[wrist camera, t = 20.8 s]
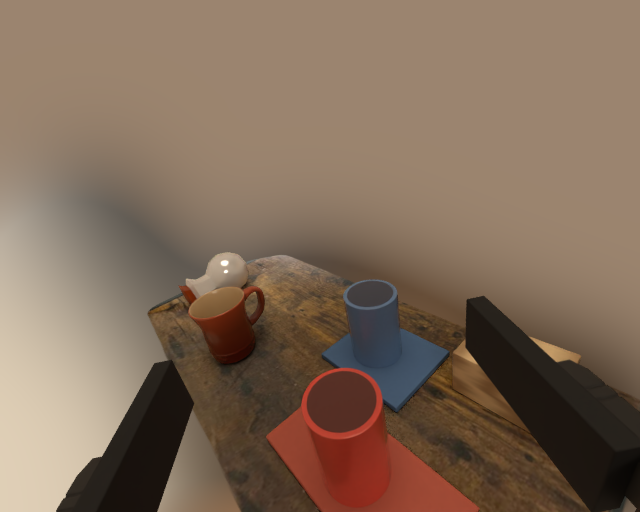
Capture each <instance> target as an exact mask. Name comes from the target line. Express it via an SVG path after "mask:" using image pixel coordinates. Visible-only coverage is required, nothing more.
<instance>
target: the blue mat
mask: <svg viewBox="0 0 640 512" xmlns="http://www.w3.org/2000/svg"><path fill="white" fill-rule="evenodd" d="M400 331H401V342H402V354H401V356H400V358H399V359H398V360H397V361H396V362H395V363H394V364H392V365H390V366H387V367H383V368H371V367H367V366H364V365H362V364H361V363H359V362H358V361H357V360H356V358H355V357H354V354H353V349H352V343H351V338H350V333H348V334H347V335H346V336H344V337H343V338H342V339H340V340H339V341H338V342H336V343H335V344H334V345H332V346H331V347H330V348H328V349H327V350H326V351H325V352H323V353H322V358H323V359H325V360H326V361H328V362H329V363H330V364H332V365H333V366H334V367H336V368H352V369H357V370H360V371H362V372H365V373H366V374H368V375H369V376H370V377H372V378H373V379H374V380H375V381H376V383H377V384H378V386H379V388H380V390H381V393H382V398H383V403H384V404H386V405H387V406H388V407H390V408H391V409H392V410H394V411H395V412H398V411H399V410H400V409H401V408H402V407H403V405H404V404H405V403H406V402H407V401H408V400H409V399H410V398H411V397H412V396H413V395H414V393H415V392H416V391H417V390H418V389H419V388H420V387H421V386H422V385H423V384H424V383H425V381H426V380H427V379H428V378H429V377H430V376H431V375H432V374H433V373H434V372H435V371H436V370H437V368H438V367H439V366H440V365H441V364H442V363H443V362H444V361H445V360H446V359H447V358H448V356H449V351H448V350H445V349H443V348H441V347H439V346H437V345H435V344H433V343H431V342H429V341H427V340H425V339H423V338H420V337H418V336H416V335H414V334H412V333H410V332H408V331H406V330H404V329H402V328H400Z"/></svg>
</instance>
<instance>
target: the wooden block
mask: <svg viewBox="0 0 640 512" xmlns="http://www.w3.org/2000/svg"><path fill="white" fill-rule="evenodd" d="M528 337H529V336H528ZM529 338H531V337H529ZM531 339H532V340H533V341H534V342H535V343H536V344H537V345H538V346H539V347H540V348H542V349H543V350H544V351H545V352H546V353H547V354H548V355H549V356H550V357H551V358H553V359H554V360H555V361H556V362H559V361H564V360H569V359H570V360H572V361H574V362H575V363H577V364H579V363H580V359H581V356H580V355H578V354H576V353H573V352H570V351H567V350H564V349H562V348H559V347H556V346H554V345H551V344H548V343H545V342H543V341H540V340H537V339H535V338H531ZM452 388H453V389H454V390H456V391H457V392H459V393H461V394H463V395H464V396H466V397H468V398H470V399H471V400H473V401H475V402H477V403H478V404H480V405H482V406H484V407H485V408H487V409H489V410H491V411H492V412H494V413H496V414H498V415H499V416H501V417H503V418H505V419H506V420H508V421H510V422H512V423H513V424H515V425H517V426H519V427H520V428H522V429H524V430H526V431H527V432H529V433H530V431H529V430H528V429H527V427H526V426H525V425H524V424H523V422H522V421H521V420H520V418H519V417H518V416H517V414H516V413H515V412H514V410H513V409H512V408H511V407H510V405H509V404H508V403H507V401H506V400H505V399H504V397H503V396H502V395H501V394H500V392H499V391H498V390H497V388H496V387H495V386H494V384H493V383H492V382H491V380H490V379H489V378H488V377H487V375H486V374H485V373H484V371H483V370H482V369H481V367H480V366H479V365H478V363H477V362H476V361H475V360H474V358H473V357H472V356H471V354H470V353H469V352H468V350H467V349H466V348H465V340H464V341H463V342H462V343H461V344H460V345H459V346H458V348H457V349H456V350H455V351H454V352H453V386H452Z"/></svg>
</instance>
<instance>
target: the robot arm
mask: <svg viewBox="0 0 640 512" xmlns="http://www.w3.org/2000/svg"><path fill="white" fill-rule="evenodd" d="M465 348H466V349H467V350H468V352H469V353H470V354H471V356H472V357H473V358H474V360H475V361H476V362H477V363H478V365H479V366H480V367H481V369H482V370H483V371H484V373H485V374H486V375H487V377H488V378H489V379H490V380H491V382H492V383H493V384H494V386H495V387H496V388H497V390H498V391H499V392H500V394H501V395H502V396H503V397H504V399H505V400H506V401H507V403H508V404H509V405H510V407H511V408H512V409H513V410H514V412H515V413H516V414H517V416H518V417H519V418H520V420H521V421H522V422H523V424H524V425H525V426H526V427H527V429H528V430H529V431H530V433H531V434H532V435H533V437H534V438H535V439H536V441H537V442H538V443H539V444H540V446H541V447H542V448H543V450H544V451H545V452H546V454H547V455H548V456H549V457H550V459H551V460H552V461H553V463H554V464H555V465H556V467H557V468H558V469H559V471H560V472H561V473H562V474H563V476H564V477H565V478H566V480H567V481H568V482H569V484H570V485H571V486H572V488H573V489H574V490H575V491H576V493H577V494H578V495H579V497H580V498H581V499H582V501H583V502H584V503H585V504H586V506H587V507H588V508H589V510H590V511H591V512H602V511H606V510H611V509H616V508H620V506H621V503H622V501H623V499H624V497H625V496H626V497H627V498H628V499H629V500H630V501H631V503H632V504H633V505H634V506H635V507H636V508H637V509H636V511H635V512H640V412H639V411H638V410H637V409H635V408H634V407H633V406H632V405H631V404H629V403H628V402H627V401H626V400H625V399H623V398H622V397H619V396H618V393H616V392H615V391H614V390H613V389H612V388H610V387H609V386H608V385H607V386H606V385H605V383H604V382H603V381H602V380H601V379H600V378H598V377H597V376H596V375H595V374H593V373H592V372H591V371H590V370H589V369H587V368H585V367H583V366H581V365H579V364H577V363H575V362H574V361H572V360H570V359H569V360H564V361H559V362H556V361H555V360H554V359H553V358H551V357H550V356H549V355H548V354H547V353H546V352H545V351H544V350H543V349H542V348H540V347H539V346H538V345H537V344H536V343H535V342H534V341H533V340H532V339H531V338H529V337H528V336H527V335H526V334H525V333H524V332H523V331H522V330H521V329H520V328H519V327H517V326H516V325H515V324H514V323H513V322H512V321H511V320H510V319H509V318H508V317H506V316H505V315H504V314H503V313H502V312H501V311H500V310H499V309H497V307H495V306H494V305H493V304H492V303H491V302H490V301H489V300H488V299H487V298H485V296H481V297H476V298H471V299H467V307H466V339H465ZM193 405H194V402H193V400H192V398H191V396H190V394H189V392H188V390H187V388H186V386H185V385H184V383H183V381H182V379H181V377H180V375H179V373H178V371H177V369H176V367H175V365H174V363H173V361H172V360H169V361H164V362H159V363H155V364H154V365H153V367H152V369H151V370H150V372H149V374H148V376H147V377H146V379H145V381H144V383H143V385H142V386H141V388H140V390H139V392H138V393H137V395H136V397H135V399H134V401H133V403H132V404H131V406H130V408H129V410H128V412H127V413H126V415H125V417H124V419H123V420H122V422H121V424H120V426H119V428H118V429H117V431H116V433H115V435H114V436H113V438H112V440H111V442H110V443H109V445H108V447H107V449H106V451H105V453H104V454H103V456H102V457H98V458H93V459H92V460H91V461H90V462H89V463H88V464H87V466H86V467H85V468H84V469H83V470H82V471H81V472H80V473H79V474H78V475H77V477H76V479H75V480H74V482H73V484H72V485H71V487H70V489H69V490H68V492H67V494H66V498H64V499H63V500H62V502H61V503H60V505H59V507H58V508H57V510H56V512H157V511H158V508H159V505H160V502H161V499H162V496H163V493H164V489H165V487H166V484H167V481H168V478H169V476H170V472H171V469H172V467H173V464H174V461H175V458H176V455H177V452H178V449H179V446H180V443H181V440H182V437H183V435H184V432H185V429H186V426H187V423H188V420H189V417H190V414H191V411H192V408H193Z"/></svg>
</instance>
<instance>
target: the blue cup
mask: <svg viewBox="0 0 640 512" xmlns="http://www.w3.org/2000/svg"><path fill="white" fill-rule="evenodd" d="M343 298H344V304H345V309H346V315H347V321H348V326H349V332H350V338H351V343H352V349H353V354H354V357H355V358H356V360H357V361H358V362H359V363H361V364H362V365H364V366H367V367H371V368H383V367H387V366H390V365H392V364H394V363H395V362H396V361H397V360H398V359H399V358H400V356H401V354H402V342H401V331H400V319H399V307H398V295H397V290H396V288H395V287H394V286H393V285H392V284H391V283H389V282H386V281H383V280H364V281H360V282H357V283H355V284H353V285H351V286H350V287H348V288H347V289H346V291H345V292H344V296H343Z"/></svg>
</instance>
